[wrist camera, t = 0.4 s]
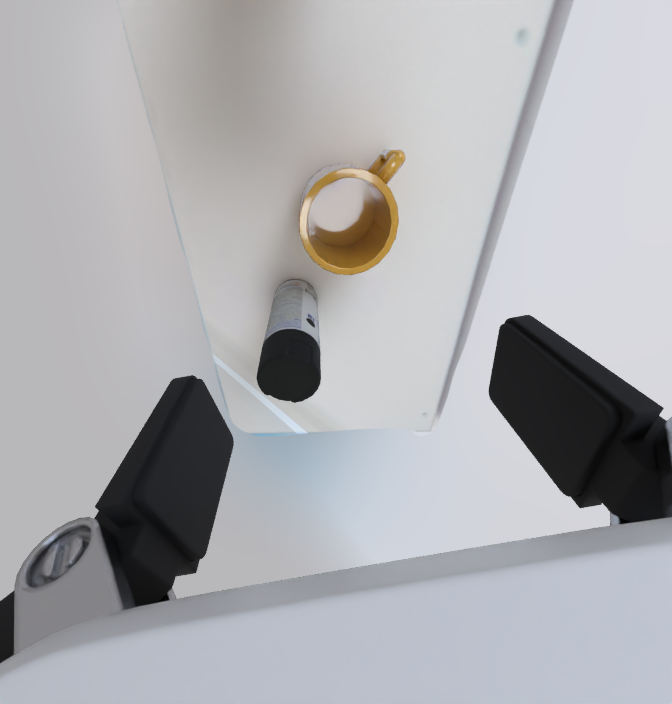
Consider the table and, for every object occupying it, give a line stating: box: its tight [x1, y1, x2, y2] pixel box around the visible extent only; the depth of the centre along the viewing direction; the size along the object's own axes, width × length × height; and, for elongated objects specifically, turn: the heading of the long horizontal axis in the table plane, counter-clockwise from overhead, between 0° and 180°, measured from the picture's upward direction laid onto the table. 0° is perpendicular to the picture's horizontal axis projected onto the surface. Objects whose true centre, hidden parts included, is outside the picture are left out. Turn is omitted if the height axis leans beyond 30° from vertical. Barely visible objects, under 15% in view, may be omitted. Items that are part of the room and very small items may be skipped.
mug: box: [299, 150, 405, 275], centre depth 35 cm, size 14×11×10 cm
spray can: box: [257, 280, 321, 403], centre depth 38 cm, size 7×7×20 cm
